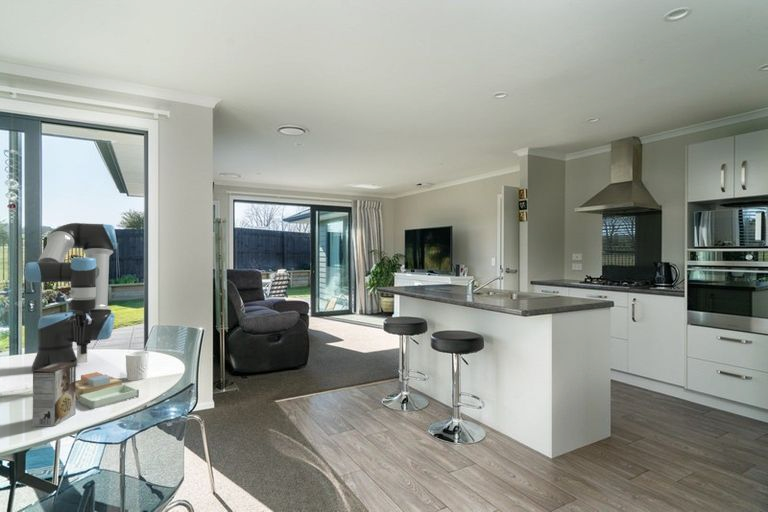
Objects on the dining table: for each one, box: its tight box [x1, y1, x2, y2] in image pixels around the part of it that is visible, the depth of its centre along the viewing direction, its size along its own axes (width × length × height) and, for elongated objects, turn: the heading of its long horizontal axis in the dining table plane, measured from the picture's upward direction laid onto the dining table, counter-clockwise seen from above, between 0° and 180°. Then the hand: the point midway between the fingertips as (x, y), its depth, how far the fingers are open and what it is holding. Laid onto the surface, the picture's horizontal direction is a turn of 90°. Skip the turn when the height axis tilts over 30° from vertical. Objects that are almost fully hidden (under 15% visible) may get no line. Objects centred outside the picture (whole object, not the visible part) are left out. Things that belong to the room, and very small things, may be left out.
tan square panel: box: [76, 374, 123, 401], centre depth 144 cm, size 13×12×4 cm
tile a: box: [80, 371, 104, 383], centre depth 145 cm, size 5×5×2 cm
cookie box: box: [31, 363, 77, 427], centre depth 120 cm, size 9×6×16 cm
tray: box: [78, 383, 140, 410], centre depth 137 cm, size 10×14×2 cm
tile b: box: [87, 374, 110, 386], centre depth 142 cm, size 5×5×2 cm
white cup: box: [125, 350, 150, 382], centre depth 161 cm, size 8×8×10 cm
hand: (82, 362), depth 149 cm, fingers closed
